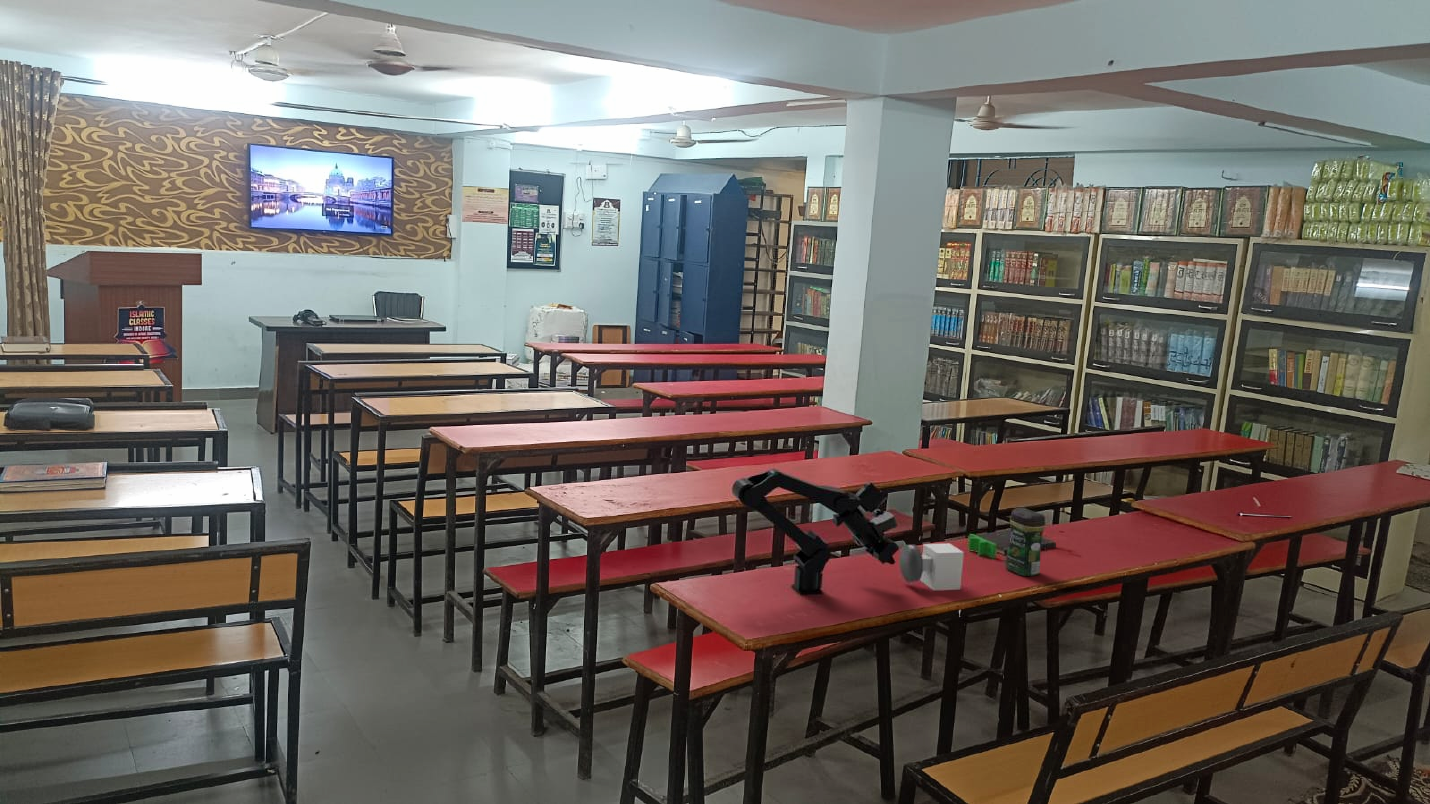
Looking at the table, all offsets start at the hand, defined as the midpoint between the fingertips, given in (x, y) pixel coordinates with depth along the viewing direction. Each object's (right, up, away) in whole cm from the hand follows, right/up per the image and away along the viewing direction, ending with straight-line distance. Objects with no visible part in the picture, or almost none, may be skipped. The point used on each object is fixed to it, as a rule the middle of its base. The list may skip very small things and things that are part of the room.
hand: (893, 563), depth 266 cm
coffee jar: (+41, -6, +20) cm, 46 cm away
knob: (+7, -5, +3) cm, 9 cm away
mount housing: (+14, -7, +5) cm, 16 cm away
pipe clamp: (+33, -3, +37) cm, 49 cm away
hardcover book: (+46, -3, +48) cm, 66 cm away
